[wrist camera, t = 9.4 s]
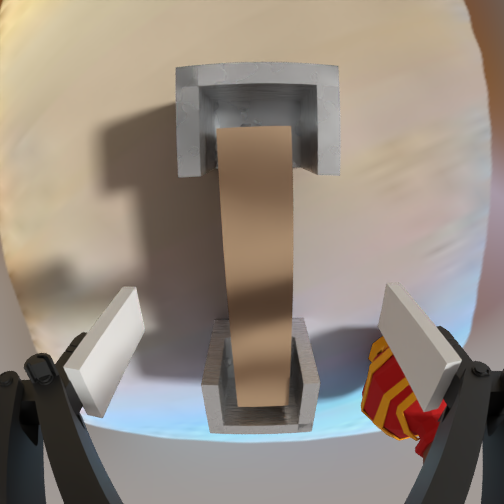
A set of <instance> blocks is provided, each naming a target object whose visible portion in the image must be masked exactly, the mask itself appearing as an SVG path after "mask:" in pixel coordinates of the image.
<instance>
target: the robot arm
mask: <svg viewBox="0 0 504 504" xmlns="http://www.w3.org/2000/svg"><path fill="white" fill-rule="evenodd" d="M378 328H379V330H380V331H381V333H382V335H383V337H384V338H385V340H386V342H387V344H388V345H389V347H390V349H391V351H392V353H393V354H394V356H395V358H396V360H397V362H398V364H399V365H400V367H401V369H402V371H403V373H404V375H405V377H406V379H407V380H408V382H409V384H410V386H411V388H412V390H413V392H414V394H415V396H416V398H417V400H418V402H419V404H420V406H421V408H422V410H423V412H427V411H431V410H434V409H438V408H439V406H440V404H441V402H442V400H443V399H444V401H445V402H446V404H447V406H446V407H445V409H444V411H443V413H442V414H441V416H440V418H439V419H438V422H440V423H439V426H438V429H437V432H436V434H435V437H434V440H433V442H432V445H431V447H430V450H429V452H428V455H427V457H426V459H425V462H424V464H423V466H422V469H421V471H420V473H419V475H418V478H417V479H416V482H415V484H414V486H413V488H412V490H411V492H410V494H409V496H408V498H407V499H406V501H405V503H404V504H464V503H465V500H466V497H467V494H468V491H469V488H470V485H471V482H472V478H473V475H474V472H475V468H476V464H477V461H478V457H479V452H480V448H481V444H482V442H483V482H482V498H481V504H504V369H503V371H491V370H490V368H489V367H488V366H487V365H486V364H484V363H482V362H478V361H474V362H473V361H472V360H471V359H470V358H469V356H468V355H467V353H466V352H465V351H464V350H463V348H462V347H461V346H460V345H458V342H457V341H456V340H455V339H454V337H453V336H452V335H451V334H450V332H449V331H447V330H446V329H444V328H443V327H441V326H437V327H436V326H435V325H434V323H433V322H432V321H431V320H430V319H429V317H428V316H427V315H426V314H425V312H424V311H423V310H422V309H421V308H420V307H419V305H418V304H417V303H416V302H415V301H414V299H413V298H412V297H411V296H410V295H409V294H408V292H407V291H406V290H405V289H404V288H403V287H402V286H401V284H400V283H387V284H386V289H385V295H384V300H383V305H382V310H381V314H380V319H379V324H378ZM144 332H145V327H144V322H143V318H142V313H141V309H140V304H139V299H138V294H137V289H136V287H122V289H121V290H120V291H119V293H118V294H117V295H116V296H115V298H114V299H113V300H112V301H111V303H110V304H109V305H108V307H107V308H106V309H105V310H104V312H103V313H102V314H101V316H100V317H99V318H98V320H97V321H96V322H95V324H94V325H93V326H92V328H91V329H90V330H89V332H88V333H85V332H83V333H81V334H80V335H78V336H77V337H75V338H74V340H73V341H72V342H71V344H70V346H68V348H67V349H66V350H65V352H64V353H63V354H62V356H61V357H60V358H59V360H58V361H57V363H56V364H54V362H53V360H52V358H51V356H50V355H48V354H46V353H39V354H35V355H33V356H31V357H30V358H29V359H27V361H26V362H25V364H24V369H25V371H26V372H27V375H28V377H29V378H30V380H21V379H20V378H19V376H18V374H17V373H16V372H14V371H7V372H4V373H2V374H1V375H0V504H46V498H45V486H44V462H43V440H44V443H45V447H46V451H47V454H48V458H49V461H50V464H51V468H52V471H53V474H54V477H55V480H56V482H57V486H58V488H59V491H60V494H61V496H62V499H63V501H64V504H123V502H122V501H121V499H120V497H119V495H118V494H117V492H116V490H115V488H114V486H113V484H112V482H111V480H110V478H109V477H108V475H107V473H106V471H105V469H104V467H103V465H102V463H101V460H100V458H99V456H98V454H97V452H96V450H95V447H94V445H93V443H92V440H91V438H90V436H89V433H88V431H87V428H86V426H85V423H84V421H83V418H82V416H81V414H80V413H79V412H80V410H81V408H82V406H83V407H84V409H85V411H86V413H87V415H90V416H95V417H99V418H103V417H104V414H105V412H106V410H107V408H108V406H109V403H110V401H111V399H112V397H113V395H114V393H115V391H116V388H117V386H118V384H119V382H120V380H121V378H122V376H123V374H124V372H125V370H126V368H127V366H128V364H129V362H130V360H131V357H132V355H133V353H134V351H135V349H136V347H137V345H138V343H139V342H140V340H141V338H142V336H143V334H144Z"/></svg>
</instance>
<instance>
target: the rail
mask: <svg viewBox="0 0 504 504" xmlns="http://www.w3.org/2000/svg"><path fill="white" fill-rule="evenodd" d="M216 133H217V154H218V172H219V190H220V206H221V221H222V236H223V250H224V263H225V276H226V288H227V300H228V312H229V323H230V334H231V345H232V355H233V365H234V375H235V385H236V394H237V403H238V407H264V406H286V405H288V404H289V385H290V364H291V338H292V302H293V169H292V134H291V126H255V127H233V128H217V129H216Z"/></svg>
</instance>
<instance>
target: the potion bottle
mask: <svg viewBox="0 0 504 504" xmlns="http://www.w3.org/2000/svg"><path fill="white" fill-rule="evenodd" d="M368 359H369V360H370V361H371V362H372V363H371V364H370V366H369V371H368V376H367V380H366V383H365V386H364V388H363V391H362V397H363V398H362V402H361V411H362V412H363V413H364V414H365V415H366V416H367V417H368V418H369V419H370V420H371V421H372V422H373V423H374V424H375V425H376V426H377V427H378V428H379V429H381V430H382V431H383V432H384V433H385V434H386V435H388V436H390V437H393V438H395V439H397V440H403V439H407V438H413V439H414V440H416V441H417V440H419V439H420V441H419V443H418V444H417V446H416V447H415V452H416V453H417V454H418V455H420V456H421V457H423V464H424V462H425V459H426V457H427V455H428V452H429V450H430V447H431V445H432V442H433V440H434V437H435V434H436V432H437V429H438V426H439V423H440V422H438V419H439V418H440V416H441V414H442V413H443V411H444V409H445V407H446V406H447V404H446V402H445V401H444V399H443V400H442V402H441V404H440V406H439V408H438V409H434V410H431V411H427V412H423V410H422V408H421V406H420V404H419V402H418V400H417V398H416V396H415V394H414V392H413V390H412V388H411V386H410V384H409V382H408V380H407V379H406V377H405V375H404V373H403V371H402V369H401V367H400V365H399V364H398V362H397V360H396V358H395V356H394V354H393V353H392V351H391V349H390V347H389V345H388V344H387V342H386V340H385V338H384V337H383V336H382V337H381V338H379V339H378V340H377V341H376V342H374V343H373V344H372V348H371V351H370V354H369V358H368ZM416 436H419V437H420V438H417V437H416Z"/></svg>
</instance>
